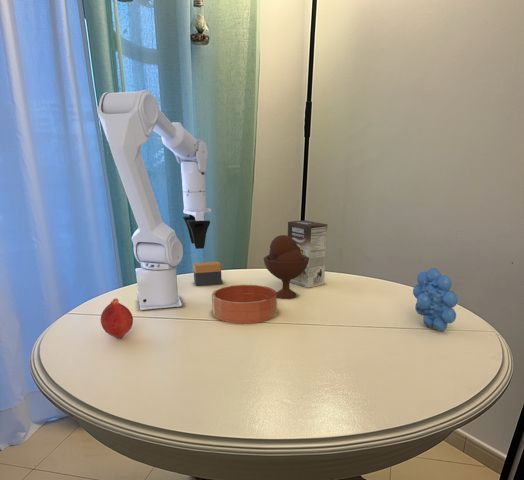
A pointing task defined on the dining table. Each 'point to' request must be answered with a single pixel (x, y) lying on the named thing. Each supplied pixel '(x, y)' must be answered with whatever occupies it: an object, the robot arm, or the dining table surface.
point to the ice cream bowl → (285, 263)
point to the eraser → (207, 273)
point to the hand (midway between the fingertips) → (197, 245)
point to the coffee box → (310, 250)
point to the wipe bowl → (244, 303)
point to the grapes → (435, 299)
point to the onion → (116, 319)
